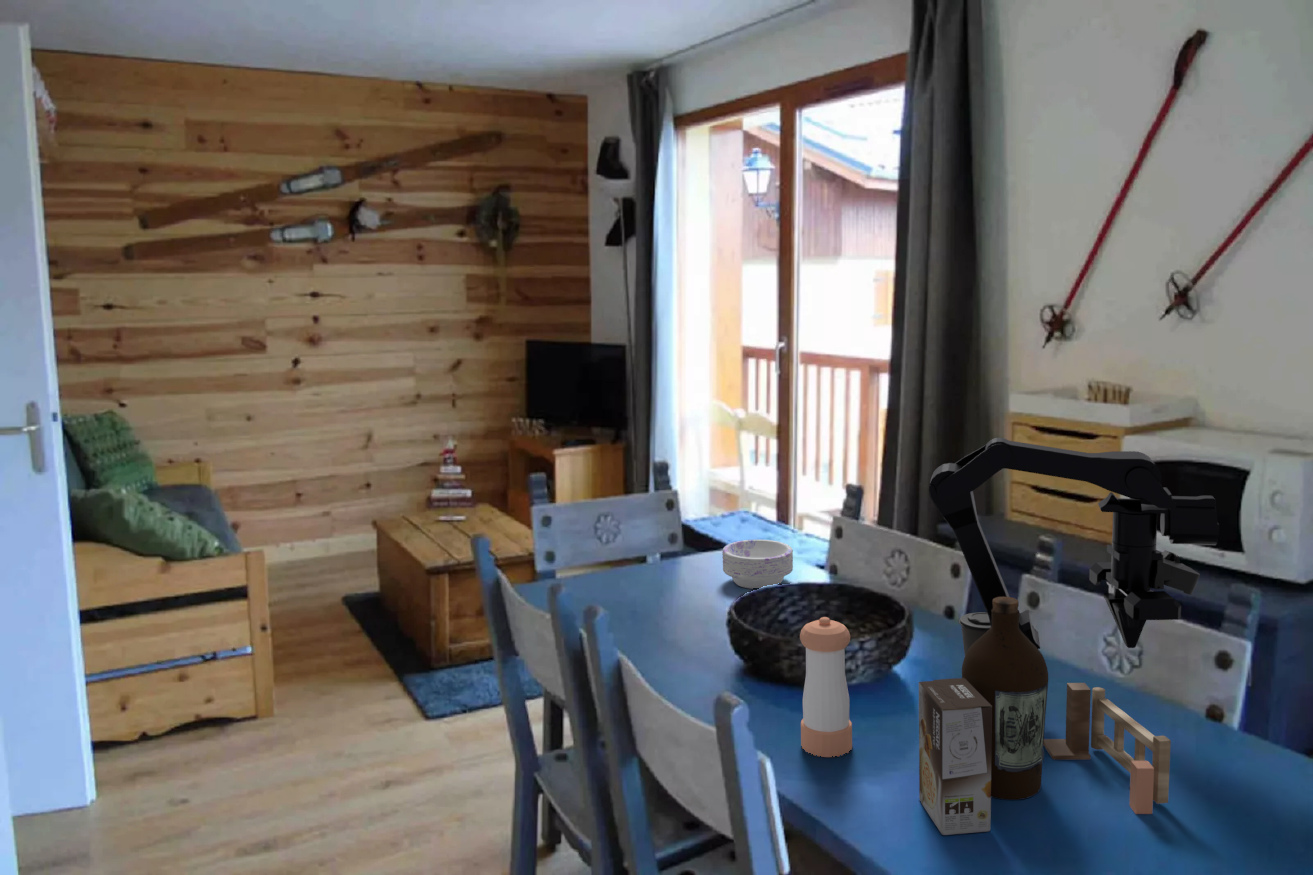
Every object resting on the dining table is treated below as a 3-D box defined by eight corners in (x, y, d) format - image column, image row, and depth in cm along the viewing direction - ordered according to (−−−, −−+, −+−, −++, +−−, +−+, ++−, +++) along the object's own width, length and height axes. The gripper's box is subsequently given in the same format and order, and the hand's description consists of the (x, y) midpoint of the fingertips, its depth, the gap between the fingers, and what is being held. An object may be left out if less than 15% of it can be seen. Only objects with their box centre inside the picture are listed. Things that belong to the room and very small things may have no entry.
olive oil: (946, 770, 141) (947, 592, 137) (1016, 759, 143) (1019, 584, 139) (988, 808, 130) (990, 617, 126) (1063, 796, 133) (1067, 608, 129)
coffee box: (993, 832, 125) (995, 706, 123) (941, 836, 125) (942, 710, 122) (964, 794, 134) (965, 676, 132) (916, 798, 134) (916, 680, 131)
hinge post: (1052, 759, 142) (1054, 694, 141) (1042, 743, 147) (1043, 679, 146) (1091, 759, 142) (1093, 693, 140) (1080, 742, 147) (1081, 679, 145)
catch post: (1135, 814, 128) (1137, 768, 127) (1129, 805, 130) (1131, 760, 129) (1152, 814, 128) (1154, 768, 127) (1145, 805, 130) (1147, 760, 129)
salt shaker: (855, 737, 151) (854, 611, 148) (848, 760, 145) (846, 628, 142) (806, 732, 154) (804, 607, 151) (796, 754, 147) (793, 624, 144)
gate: (1088, 744, 145) (1090, 687, 144) (1099, 744, 145) (1101, 686, 144) (1156, 805, 128) (1159, 741, 127) (1168, 804, 129) (1171, 740, 127)
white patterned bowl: (783, 596, 217) (783, 559, 216) (714, 591, 222) (713, 555, 221) (800, 575, 231) (800, 540, 230) (734, 571, 236) (733, 537, 235)
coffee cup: (955, 680, 170) (955, 621, 169) (960, 662, 178) (960, 606, 176) (1007, 685, 167) (1008, 626, 166) (1010, 667, 175) (1011, 610, 173)
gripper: (1223, 559, 137) (1218, 671, 140) (1166, 524, 156) (1162, 624, 158) (1136, 560, 138) (1132, 672, 141) (1089, 526, 157) (1086, 625, 159)
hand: (1130, 647), depth 150 cm, fingers closed
